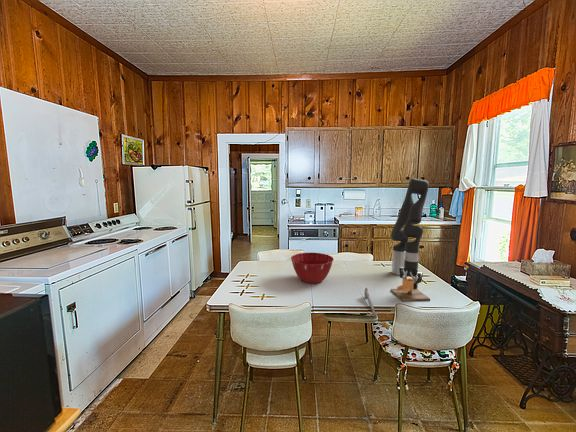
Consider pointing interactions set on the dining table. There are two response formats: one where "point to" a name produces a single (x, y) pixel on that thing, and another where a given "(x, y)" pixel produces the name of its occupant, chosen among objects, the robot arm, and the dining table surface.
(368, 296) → the caliper
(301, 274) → the mixing bowl
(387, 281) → the dining table surface
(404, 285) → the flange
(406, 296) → the post board
